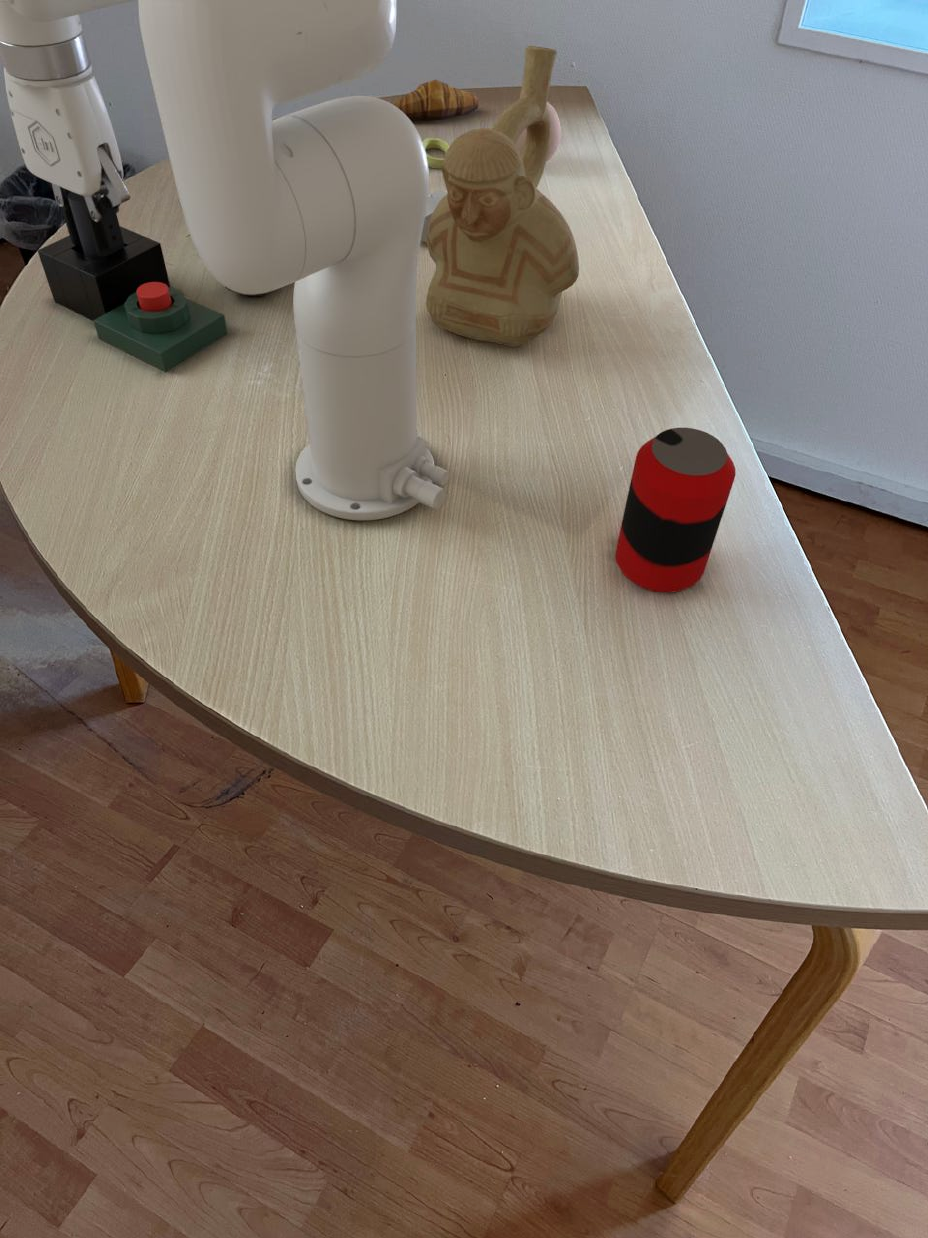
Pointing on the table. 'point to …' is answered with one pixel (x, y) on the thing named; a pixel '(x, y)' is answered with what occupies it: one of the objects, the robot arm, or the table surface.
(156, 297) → the power button
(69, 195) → the soldering iron
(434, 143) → the yellow-green curved piece
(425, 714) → the table surface
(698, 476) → the soda can
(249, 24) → the robot arm
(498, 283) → the ceramic vessel
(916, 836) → the table surface
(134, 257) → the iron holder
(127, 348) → the station
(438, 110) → the croissant
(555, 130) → the egg
